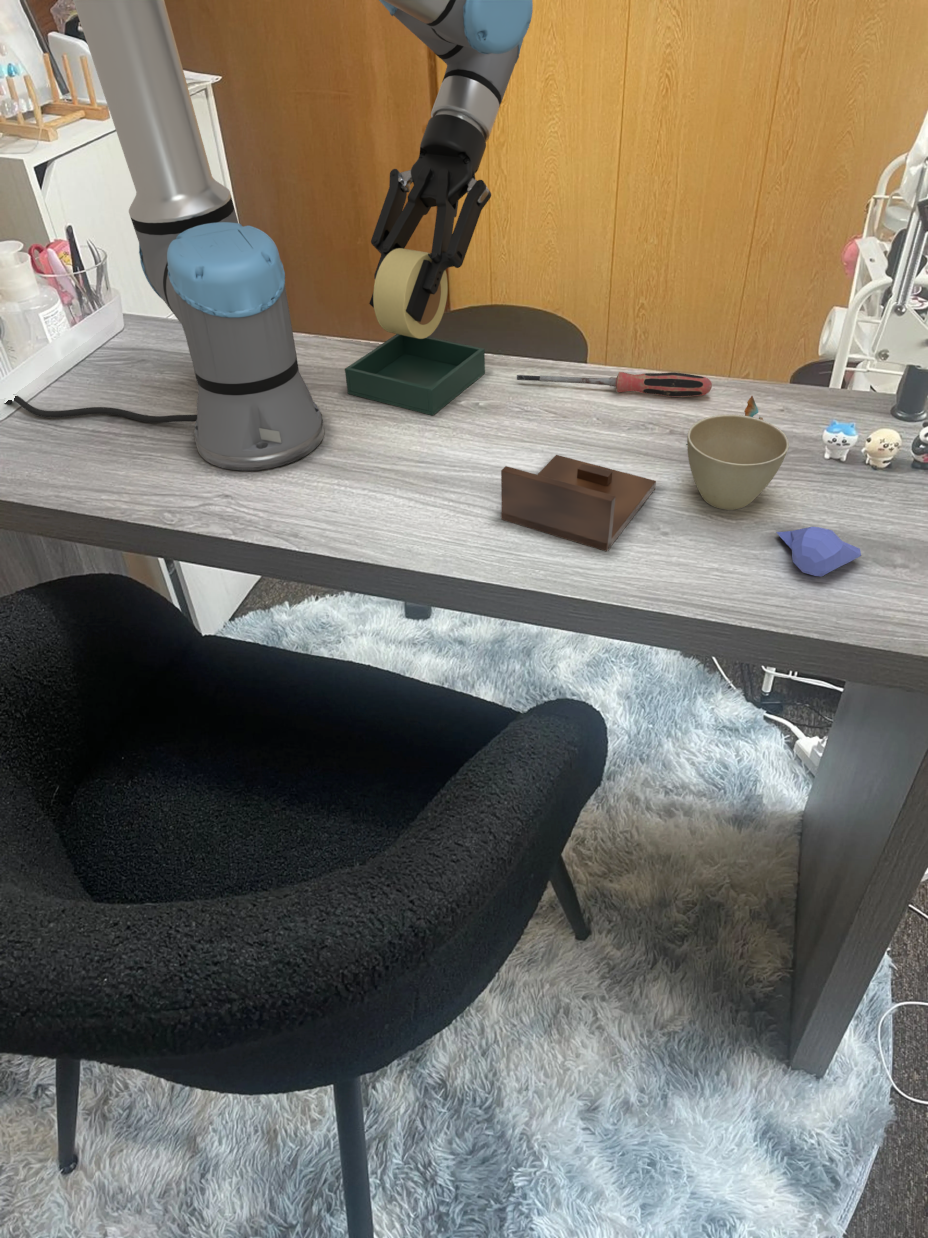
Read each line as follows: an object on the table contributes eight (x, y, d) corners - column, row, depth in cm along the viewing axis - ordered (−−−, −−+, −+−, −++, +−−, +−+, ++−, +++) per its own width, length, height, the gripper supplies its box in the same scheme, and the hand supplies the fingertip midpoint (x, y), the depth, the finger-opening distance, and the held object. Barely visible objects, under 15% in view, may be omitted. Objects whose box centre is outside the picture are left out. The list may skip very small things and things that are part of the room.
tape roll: (377, 344, 111) (368, 263, 104) (420, 315, 117) (414, 236, 110) (408, 351, 109) (401, 268, 102) (450, 321, 115) (446, 242, 108)
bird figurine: (842, 593, 81) (875, 555, 84) (818, 539, 79) (852, 503, 82) (770, 596, 88) (803, 561, 91) (746, 547, 86) (780, 513, 89)
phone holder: (501, 519, 93) (500, 470, 89) (555, 461, 101) (557, 414, 97) (607, 551, 88) (611, 500, 84) (655, 488, 96) (661, 439, 92)
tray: (347, 393, 116) (344, 368, 113) (403, 354, 124) (401, 330, 122) (433, 415, 110) (431, 389, 108) (485, 373, 119) (484, 348, 117)
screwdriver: (514, 372, 114) (518, 361, 116) (514, 393, 116) (519, 381, 118) (712, 382, 108) (713, 369, 110) (710, 403, 110) (710, 390, 112)
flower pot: (666, 510, 93) (674, 450, 88) (694, 464, 100) (703, 406, 95) (762, 533, 89) (776, 472, 85) (784, 484, 96) (798, 425, 91)
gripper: (533, 156, 107) (469, 338, 108) (411, 142, 114) (351, 313, 115) (512, 116, 100) (444, 311, 101) (384, 104, 107) (320, 286, 108)
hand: (395, 312), depth 108 cm, fingers closed on tape roll, 5 cm apart
